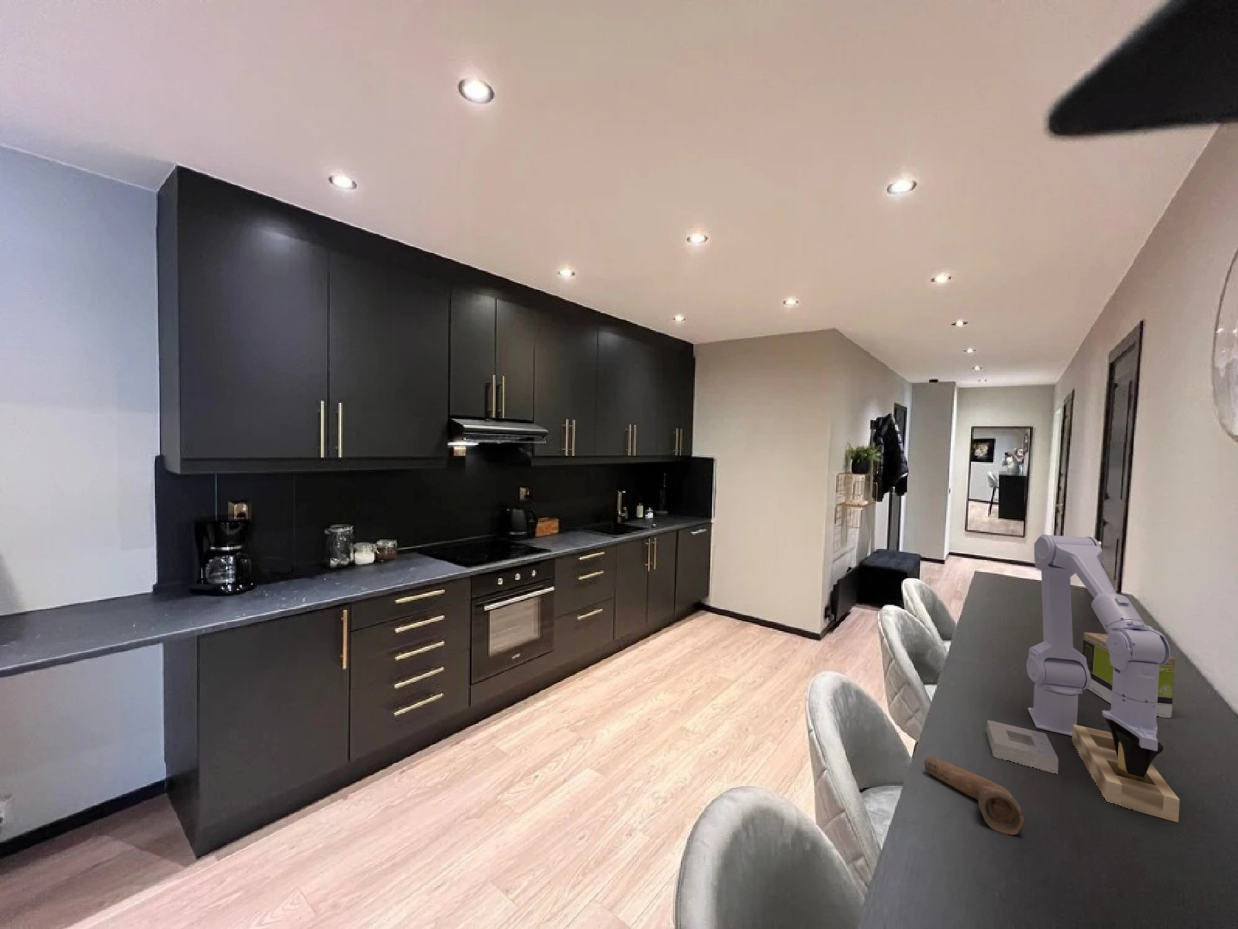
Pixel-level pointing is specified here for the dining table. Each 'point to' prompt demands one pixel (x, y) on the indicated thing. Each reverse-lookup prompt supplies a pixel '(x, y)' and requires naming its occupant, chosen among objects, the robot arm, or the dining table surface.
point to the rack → (1115, 789)
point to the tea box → (1103, 673)
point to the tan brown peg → (1121, 766)
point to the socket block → (1022, 746)
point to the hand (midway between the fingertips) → (1130, 767)
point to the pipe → (981, 795)
